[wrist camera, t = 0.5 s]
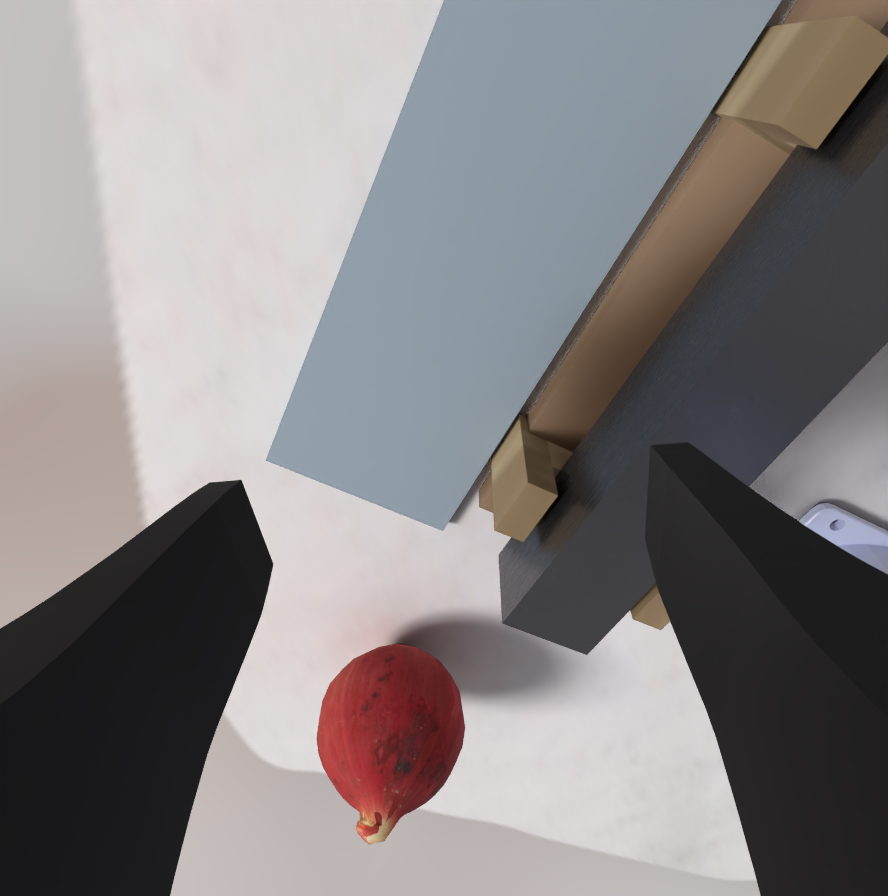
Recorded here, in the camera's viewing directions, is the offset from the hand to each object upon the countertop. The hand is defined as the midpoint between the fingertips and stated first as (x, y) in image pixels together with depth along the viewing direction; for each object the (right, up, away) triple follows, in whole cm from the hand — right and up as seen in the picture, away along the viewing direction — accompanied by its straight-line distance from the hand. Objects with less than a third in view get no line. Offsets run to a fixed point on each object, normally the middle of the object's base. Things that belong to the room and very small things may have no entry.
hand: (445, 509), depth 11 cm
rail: (+7, +4, +6) cm, 10 cm away
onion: (-2, -8, +17) cm, 19 cm away
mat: (+1, +7, +6) cm, 10 cm away
